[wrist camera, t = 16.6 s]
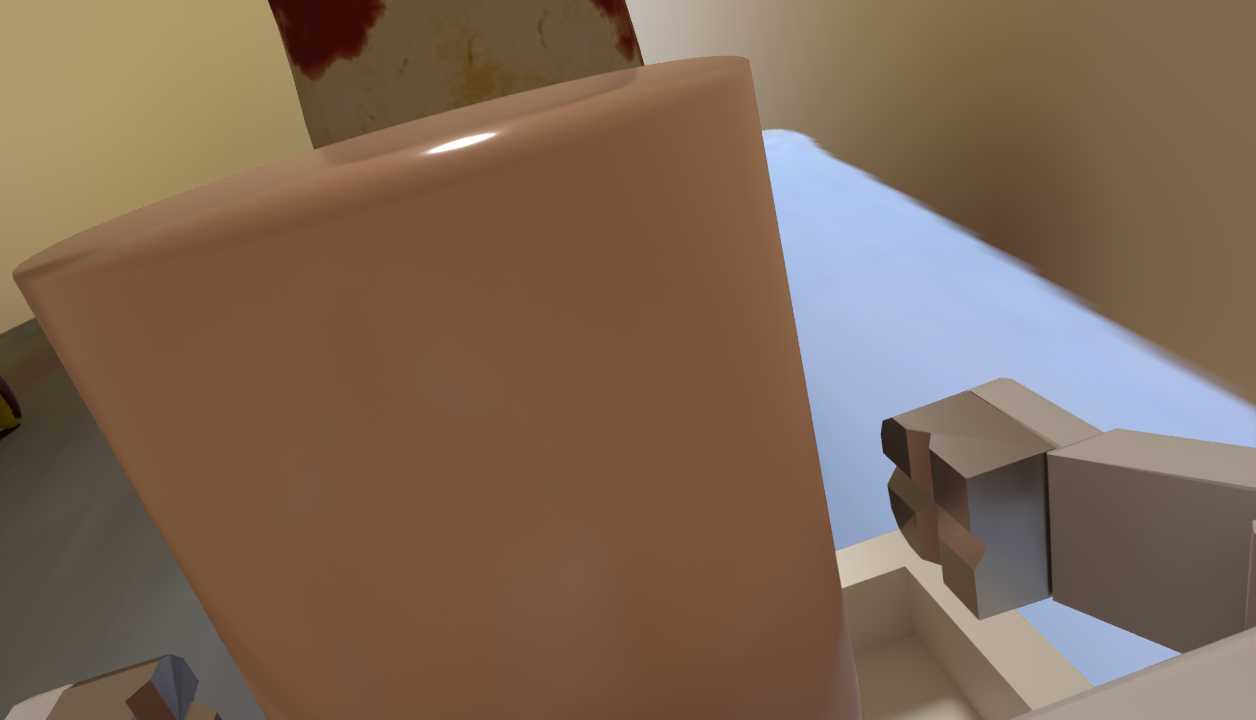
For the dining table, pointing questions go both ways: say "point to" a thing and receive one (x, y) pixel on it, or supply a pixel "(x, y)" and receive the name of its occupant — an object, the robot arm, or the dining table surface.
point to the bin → (940, 644)
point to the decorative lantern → (8, 407)
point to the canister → (481, 412)
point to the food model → (439, 55)
